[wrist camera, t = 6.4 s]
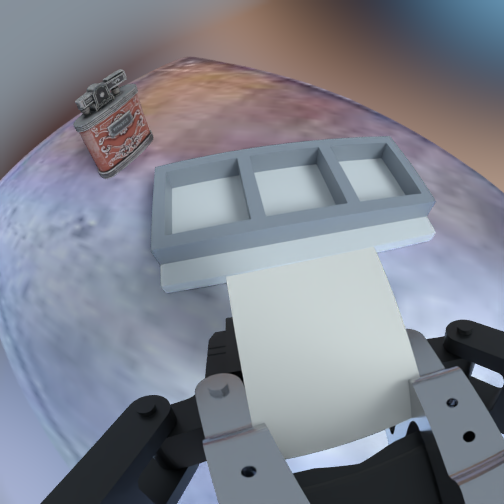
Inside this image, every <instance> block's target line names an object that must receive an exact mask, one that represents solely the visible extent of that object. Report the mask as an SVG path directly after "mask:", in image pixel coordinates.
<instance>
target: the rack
mask: <svg viewBox="0 0 504 504" xmlns="http://www.w3.org/2000/svg"><path fill="white" fill-rule="evenodd" d="M435 202H436V201H435V199H434V198H433V196H432V194H431V193H430V191H429V190H428V188H427V187H426V185H425V184H424V182H423V181H422V179H421V178H420V176H419V175H418V173H417V172H416V171H415V169H414V168H413V166H412V165H411V164H410V162H409V161H408V159H407V158H406V157H405V155H404V154H403V153H402V151H401V150H400V149H399V147H398V146H397V145H396V144H395V142H394V141H393V140H392V138H391V137H390V136H383V137H356V138H339V139H326V140H314V141H304V142H294V143H286V144H278V145H270V146H263V147H256V148H249V149H243V150H237V151H231V152H225V153H220V154H214V155H209V156H204V157H199V158H194V159H189V160H185V161H180V162H176V163H171V164H167V165H163V166H158V167H155V175H154V188H153V203H152V223H151V252H152V253H153V255H154V256H155V258H156V259H157V261H158V262H159V264H160V276H161V288H162V289H163V290H164V291H165V292H166V293H172V292H178V291H183V290H189V289H195V288H201V287H207V286H212V285H218V284H223V283H227V281H226V277H227V276H232V275H238V274H243V273H248V272H253V271H258V270H263V269H268V268H273V267H278V266H283V265H288V264H293V263H298V262H303V261H308V260H313V259H317V258H322V257H327V256H332V255H336V254H341V253H346V252H351V251H355V250H360V249H364V248H369V247H374V248H375V250H376V252H377V253H379V252H383V251H388V250H392V249H397V248H401V247H405V246H410V245H414V244H418V243H423V242H427V241H430V240H431V239H432V238H433V236H434V235H435V233H436V232H435V230H434V228H433V227H432V225H431V223H430V221H429V219H428V218H427V215H428V214H429V212H430V210H431V209H432V207H433V206H434V204H435Z"/></svg>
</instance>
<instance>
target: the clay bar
mask: <svg viewBox="0 0 504 504" xmlns="http://www.w3.org/2000/svg"><path fill="white" fill-rule="evenodd" d="M226 281H227V287H228V293H229V299H230V305H231V312H232V317H233V323H234V329H235V335H236V341H237V347H238V352H239V358H240V363H241V369H242V374H243V380H244V385H245V390H246V396H247V401H248V406H249V411H250V416H251V421H252V426H255V425H259V424H262V423H265V424H266V426H267V427H268V429H269V431H270V433H271V435H272V437H273V439H274V441H275V442H276V444H277V446H278V448H279V450H280V452H281V454H282V455H283V457H284V459H290V458H295V457H299V456H303V455H308V454H312V453H316V452H319V451H323V450H327V449H330V448H334V447H337V446H340V445H344V444H347V443H350V442H353V441H356V440H359V439H362V438H364V437H367V436H370V435H373V434H375V433H378V432H380V431H383V430H385V429H388V428H390V427H393V426H395V425H397V424H400V423H402V422H404V421H407V420H409V419H411V418H412V417H411V404H410V393H409V383H408V380H409V379H413V378H417V377H420V376H419V372H418V368H417V365H416V361H415V358H414V354H413V351H412V348H411V344H410V341H409V338H408V335H407V332H406V329H405V326H404V323H403V320H402V317H401V314H400V311H399V308H398V306H397V303H396V300H395V297H394V295H393V292H392V289H391V287H390V284H389V282H388V279H387V277H386V274H385V272H384V269H383V267H382V264H381V262H380V259H379V257H378V255H377V252H376V250H375V248H374V247H369V248H364V249H360V250H355V251H351V252H346V253H341V254H336V255H332V256H327V257H322V258H317V259H313V260H308V261H303V262H298V263H293V264H288V265H283V266H278V267H273V268H268V269H263V270H258V271H253V272H248V273H243V274H238V275H232V276H227V277H226Z"/></svg>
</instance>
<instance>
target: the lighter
mask: <svg viewBox="0 0 504 504" xmlns="http://www.w3.org/2000/svg"><path fill="white" fill-rule="evenodd" d="M126 79H127V78H126V75H125V72H124V71H122V70H118V71H116V72H114V73H113V74H111V75H110V76H108V77H106V78H105V79H103V82H101V83H100V84H92V85H90V86H89V87H88V88H87V92H86V93H85V94H84V95H83V96H81V97H80V98H78V99H77V100H76V101H75V102H76V104H77V107H78V109H79V110H80V111H81V112H82V113H83V114H82V115H81V116H80V117H79V118H78V119H77V120H76V121H75V122H74V127H75V129H76V131H77V132H79V133H80V135H81V137H82V139H83V141H84V143H85V145H86V146H87V148H88V150H89V152H90V154H91V156H92V158H93V159H94V161H95V163H96V165H97V167H98V172H99V174H100V175H101V177H102V178H104V179H108V178H111V177H113V176H115V175H116V174H117V173H119V172H120V171H121V170H123V169H124V168H125V167H126V166H128V165H129V164H130V163H131V162H132V161H133V160H134V159H136V158H137V157H138V156H139V155H140V154H141V153H142V152H143V151H144V150H145V149H146V148H147V146H148V145H149V144H150V143H151V142H152V141H153V134H152V132H151V130H149V128H148V125H147V122H146V119H145V116H144V113H143V110H142V107H141V104H140V101H139V98H138V95H137V92H138V90H137V87H136V85H135V84H127V85H124V86H122V87H120V88H119V87H118V86H117V85H118V84H120V83H121V82H123V81H124V80H126ZM110 90H111V91H112V93H110V92H109V91H110Z"/></svg>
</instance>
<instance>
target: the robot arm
mask: <svg viewBox="0 0 504 504" xmlns="http://www.w3.org/2000/svg"><path fill="white" fill-rule="evenodd" d="M406 332H407V335H408V338H409V341H410V344H411V348H412V351H413V354H414V358H415V361H416V365H417V368H418V372H419V376H420V377H417V378H413V379H409V380H408V383H409V393H410V404H411V417H412V418H411V419H409V420H407V421H404V422H402V423H400V424H397V425H395V426H393V427H390V428H388V429H385V431H386V435H387V439H388V446H387V447H385V448H384V449H382V450H381V451H379V452H378V453H376V454H375V455H373V456H372V457H370V458H369V459H367V460H365V461H364V462H362V463H360V464H356V465H348V466H339V467H328V468H314V469H310V470H306V471H302V472H297V473H292V472H291V470H290V468H289V466H288V464H287V463H286V461H285V459H284V457H283V455H282V454H281V452H280V450H279V448H278V446H277V444H276V442H275V441H274V439H273V437H272V435H271V433H270V431H269V429H268V427H267V426H266V424H265V423H262V424H259V425H255V426H252V421H251V416H250V411H249V406H248V401H247V396H246V390H245V385H244V380H243V374H242V369H241V363H240V358H239V352H238V347H237V341H236V335H235V329H234V323H233V317H230V318H226V331H221V332H215V333H214V334H213V336H212V337H211V338H210V340H209V344H208V354H207V355H208V357H207V364H206V374H205V379H203V380H202V381H201V382H200V383H199V384H198V385H197V387H196V389H195V395H194V396H193V397H191V398H189V399H186V400H184V401H181V402H177V403H174V404H171V405H170V403H169V402H168V400H167V399H166V398H164V397H162V396H158V395H149V396H144V397H141V398H139V399H137V400H135V401H134V402H133V403H132V404H131V405H130V406H129V407H128V408H127V409H126V410H125V411H124V412H123V413H122V414H121V416H120V417H119V418H118V419H117V420H116V421H115V422H114V423H113V425H112V426H111V427H110V428H109V429H108V430H107V431H106V432H105V433H104V435H103V436H102V437H101V438H100V439H99V440H98V441H97V442H96V443H95V445H94V446H93V447H92V448H91V449H90V450H89V451H88V452H87V453H86V454H85V456H84V457H83V458H82V459H81V460H80V461H79V462H78V463H77V464H76V465H75V467H74V468H73V469H72V470H71V471H70V472H69V473H68V474H67V475H66V477H65V478H64V479H63V480H62V481H61V482H60V483H59V484H58V485H57V486H56V487H55V488H54V490H53V491H52V492H51V493H50V494H49V495H48V496H47V497H46V498H45V499H44V500H43V502H42V503H41V504H177V503H178V501H179V499H180V498H181V496H182V494H183V492H184V491H185V489H186V487H187V486H188V484H189V482H190V480H191V479H192V477H193V475H194V473H195V472H196V470H197V468H198V466H199V463H202V462H205V461H207V463H208V467H209V471H210V475H211V478H212V482H213V486H214V489H215V492H216V496H217V499H218V502H219V504H504V438H503V437H502V435H501V433H502V434H504V385H503V387H502V388H498V387H495V386H493V385H490V384H488V383H486V382H483V381H481V380H479V379H476V378H474V377H472V376H471V374H472V371H473V368H474V365H475V364H478V365H480V366H483V367H485V368H488V369H490V370H493V371H495V372H498V373H500V374H501V375H502V376H503V379H504V332H503V331H500V330H497V329H494V328H491V327H488V326H485V325H482V324H479V323H476V322H473V321H470V320H457V321H453V322H451V323H450V324H449V325H448V326H447V327H446V332H445V336H443V337H438V338H432V339H426V338H425V337H424V336H423V334H421V333H420V332H418V331H416V330H412V329H406Z"/></svg>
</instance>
